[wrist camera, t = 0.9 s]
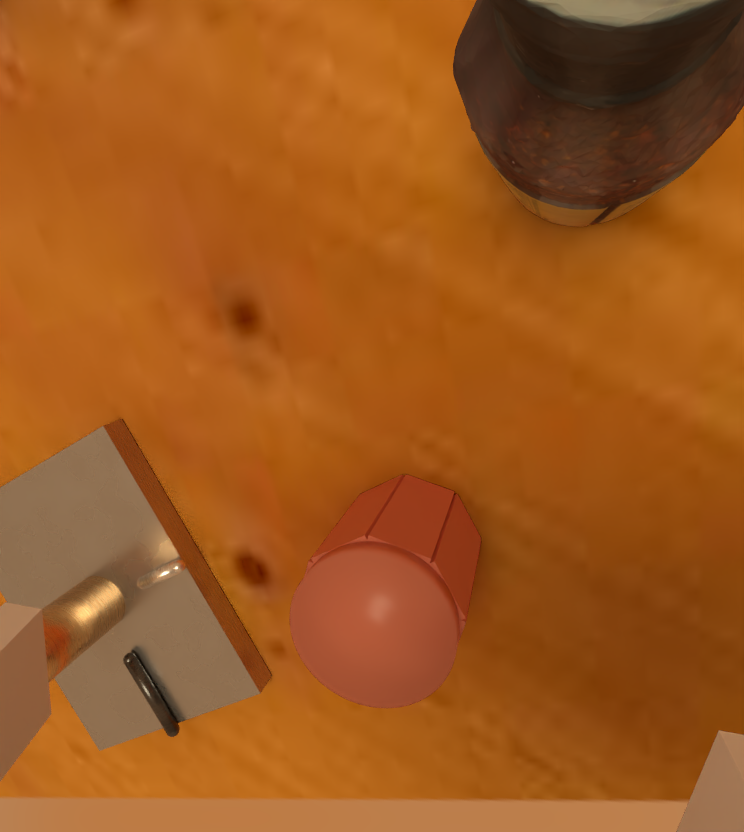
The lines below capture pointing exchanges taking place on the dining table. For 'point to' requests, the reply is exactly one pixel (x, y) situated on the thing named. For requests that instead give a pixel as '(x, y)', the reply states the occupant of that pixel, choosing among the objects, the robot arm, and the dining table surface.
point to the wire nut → (388, 594)
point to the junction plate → (121, 592)
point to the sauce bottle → (598, 96)
